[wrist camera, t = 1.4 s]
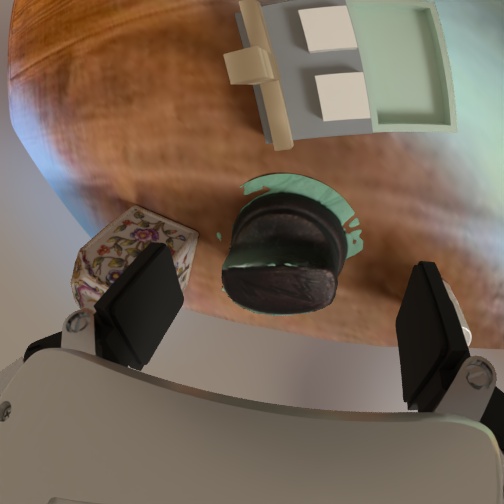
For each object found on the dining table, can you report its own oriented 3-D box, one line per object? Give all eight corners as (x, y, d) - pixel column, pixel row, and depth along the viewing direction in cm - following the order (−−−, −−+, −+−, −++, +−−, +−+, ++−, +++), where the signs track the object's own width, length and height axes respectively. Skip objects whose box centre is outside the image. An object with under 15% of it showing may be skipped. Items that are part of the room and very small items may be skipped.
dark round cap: (243, 303, 46) (225, 346, 38) (198, 191, 36) (162, 224, 29) (367, 294, 38) (370, 343, 31) (350, 160, 29) (357, 188, 21)
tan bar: (263, 1, 18) (235, -29, 11) (297, 144, 26) (283, 168, 19) (240, 7, 19) (203, -19, 12) (274, 147, 27) (252, 172, 20)
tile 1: (345, 9, 17) (346, 5, 16) (356, 49, 19) (357, 47, 18) (299, 14, 18) (298, 10, 17) (310, 53, 21) (309, 51, 20)
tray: (428, 6, 15) (434, 2, 13) (449, 129, 23) (457, 133, 21) (342, 3, 18) (343, -3, 17) (368, 129, 26) (371, 132, 24)
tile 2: (361, 72, 21) (363, 72, 19) (368, 116, 23) (370, 118, 22) (315, 76, 22) (314, 75, 21) (323, 119, 24) (323, 121, 23)
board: (342, 3, 18) (343, -5, 16) (368, 129, 26) (373, 133, 24) (242, 19, 22) (234, 13, 20) (271, 138, 30) (266, 143, 27)
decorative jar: (134, 201, 40) (51, 270, 25) (201, 229, 39) (131, 320, 25) (131, 258, 47) (69, 328, 32) (188, 285, 46) (135, 369, 32)
